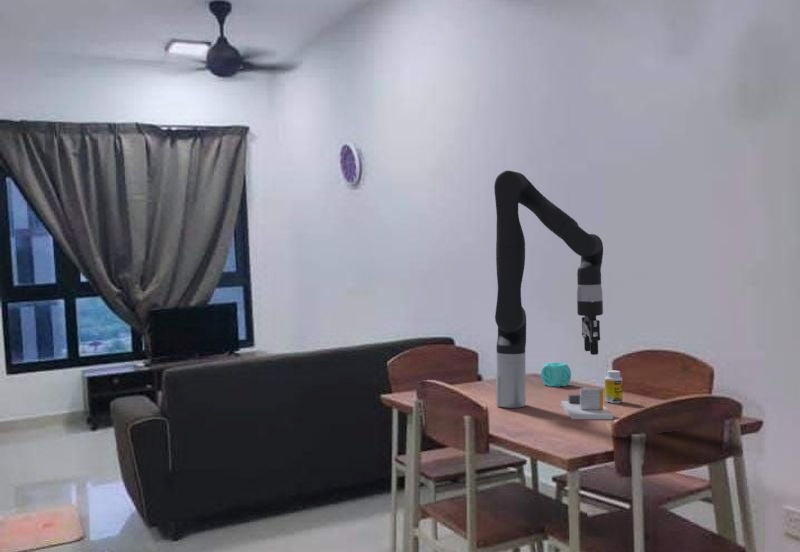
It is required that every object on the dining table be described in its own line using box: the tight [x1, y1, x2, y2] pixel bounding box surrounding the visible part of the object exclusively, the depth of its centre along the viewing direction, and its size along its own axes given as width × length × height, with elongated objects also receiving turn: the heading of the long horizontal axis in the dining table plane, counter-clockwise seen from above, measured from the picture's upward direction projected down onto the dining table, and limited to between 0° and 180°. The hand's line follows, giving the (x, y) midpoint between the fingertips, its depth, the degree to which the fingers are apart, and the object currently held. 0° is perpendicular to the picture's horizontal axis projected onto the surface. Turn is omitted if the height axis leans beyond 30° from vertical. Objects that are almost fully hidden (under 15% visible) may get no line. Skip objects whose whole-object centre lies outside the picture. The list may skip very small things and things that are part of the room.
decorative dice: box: [540, 362, 572, 388], centre depth 278 cm, size 8×8×8 cm
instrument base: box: [560, 394, 614, 420], centre depth 230 cm, size 12×20×5 cm, turn 177°
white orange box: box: [579, 387, 604, 410], centre depth 226 cm, size 6×3×6 cm, turn 87°
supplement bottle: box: [604, 369, 623, 404], centre depth 245 cm, size 6×6×10 cm
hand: (591, 352), depth 227 cm, fingers open, 8 cm apart
